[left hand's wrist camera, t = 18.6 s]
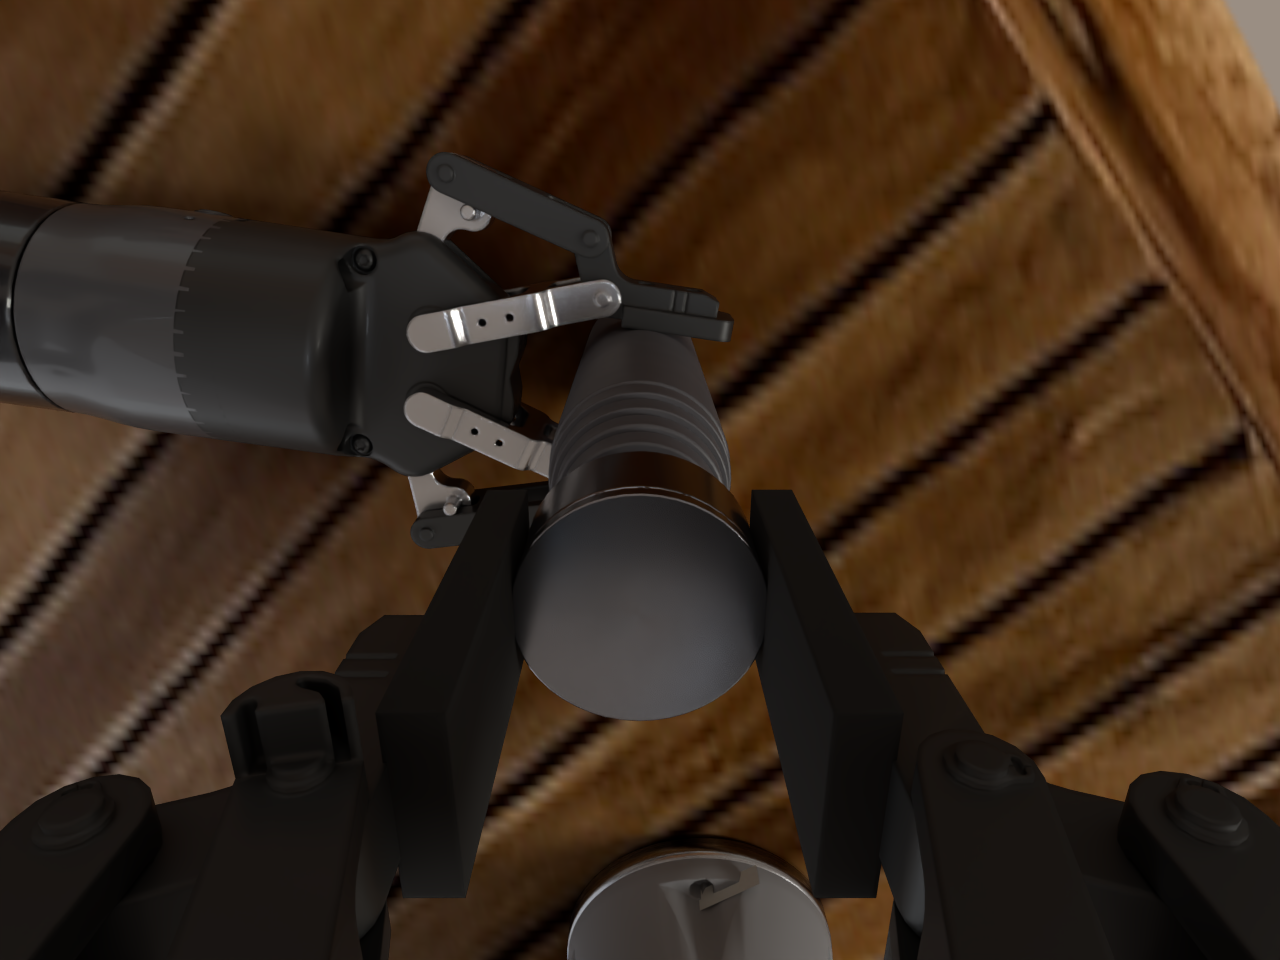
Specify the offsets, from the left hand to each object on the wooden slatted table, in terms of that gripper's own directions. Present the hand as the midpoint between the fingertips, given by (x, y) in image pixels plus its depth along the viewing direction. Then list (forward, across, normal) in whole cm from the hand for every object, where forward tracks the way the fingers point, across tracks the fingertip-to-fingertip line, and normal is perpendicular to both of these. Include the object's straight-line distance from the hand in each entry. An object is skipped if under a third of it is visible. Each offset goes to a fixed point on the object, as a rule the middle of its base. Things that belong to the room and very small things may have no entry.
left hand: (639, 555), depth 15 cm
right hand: (+13, -3, 0) cm, 13 cm away
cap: (-2, 0, 0) cm, 2 cm away
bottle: (+20, 0, 0) cm, 20 cm away
